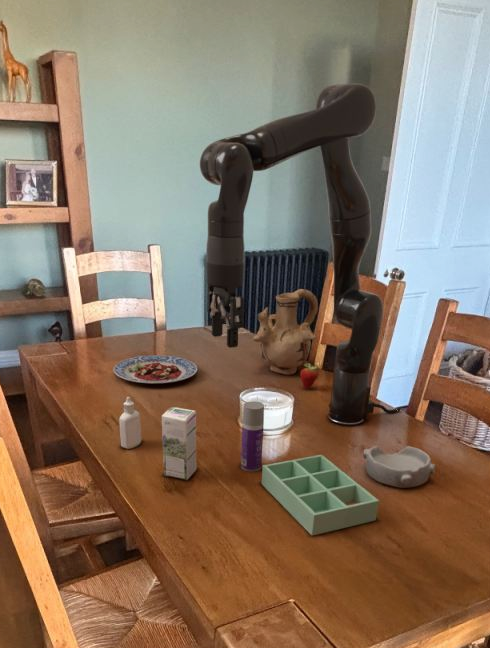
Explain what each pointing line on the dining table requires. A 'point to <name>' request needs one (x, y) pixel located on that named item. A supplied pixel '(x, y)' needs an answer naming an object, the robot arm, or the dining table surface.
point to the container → (252, 436)
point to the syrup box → (179, 442)
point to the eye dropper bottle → (130, 426)
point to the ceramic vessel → (286, 333)
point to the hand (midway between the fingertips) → (224, 341)
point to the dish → (399, 466)
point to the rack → (319, 494)
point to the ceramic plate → (155, 369)
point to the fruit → (308, 376)
